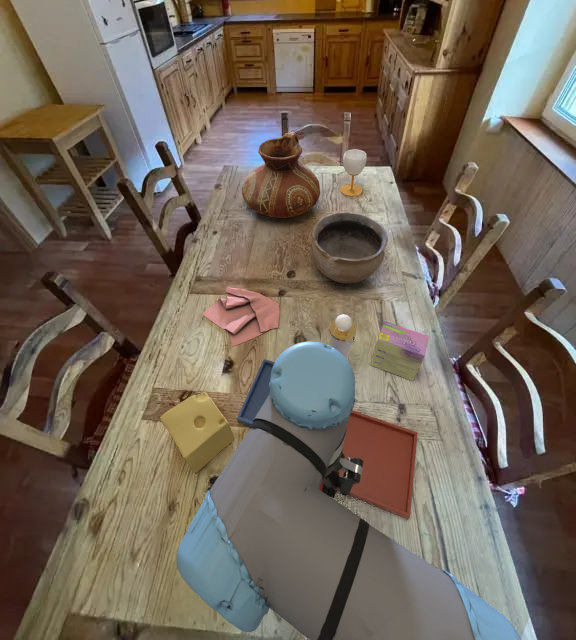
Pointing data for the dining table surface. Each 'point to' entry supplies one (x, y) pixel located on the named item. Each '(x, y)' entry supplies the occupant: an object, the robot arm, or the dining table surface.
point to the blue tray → (256, 394)
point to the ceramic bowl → (348, 246)
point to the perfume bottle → (342, 334)
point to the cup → (353, 170)
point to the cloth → (244, 314)
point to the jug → (281, 180)
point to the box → (399, 350)
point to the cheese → (198, 430)
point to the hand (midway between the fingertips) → (310, 483)
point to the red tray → (382, 462)
